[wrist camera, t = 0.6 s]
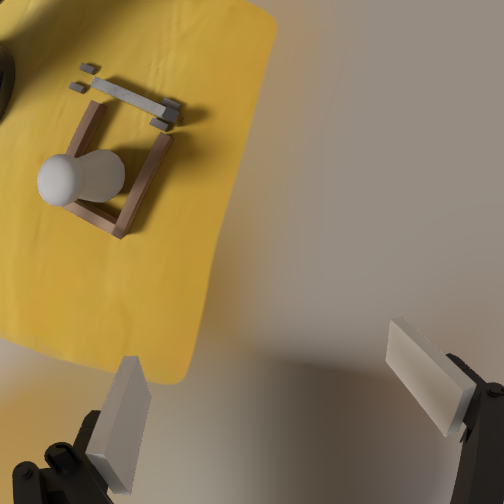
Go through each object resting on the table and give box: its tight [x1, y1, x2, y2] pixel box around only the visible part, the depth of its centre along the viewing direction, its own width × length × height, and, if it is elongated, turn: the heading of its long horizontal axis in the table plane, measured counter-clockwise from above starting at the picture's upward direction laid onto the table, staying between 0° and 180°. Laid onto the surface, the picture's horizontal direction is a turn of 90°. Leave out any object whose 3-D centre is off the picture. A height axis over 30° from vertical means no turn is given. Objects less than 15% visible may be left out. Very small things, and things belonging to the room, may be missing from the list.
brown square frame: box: [61, 63, 181, 240], centre depth 31 cm, size 15×16×2 cm
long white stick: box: [90, 77, 183, 127], centre depth 30 cm, size 12×1×3 cm, turn 61°
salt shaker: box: [37, 150, 125, 206], centre depth 27 cm, size 6×6×13 cm
